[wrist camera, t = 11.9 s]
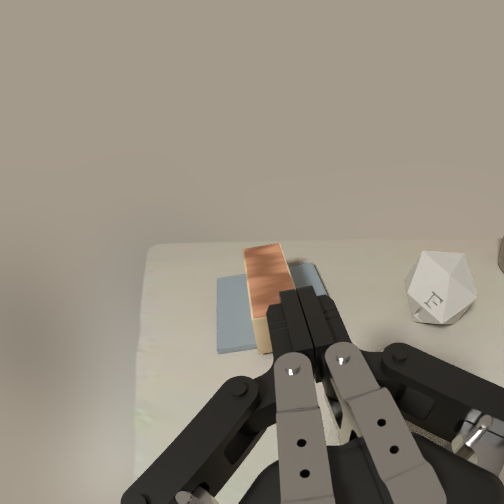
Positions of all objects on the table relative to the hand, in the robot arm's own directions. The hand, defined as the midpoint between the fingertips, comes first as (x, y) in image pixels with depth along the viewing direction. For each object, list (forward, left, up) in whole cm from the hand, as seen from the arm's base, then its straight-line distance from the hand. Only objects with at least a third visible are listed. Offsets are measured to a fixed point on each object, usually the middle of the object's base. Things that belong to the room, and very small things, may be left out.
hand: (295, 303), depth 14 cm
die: (-19, -13, -17) cm, 29 cm away
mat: (0, -21, -17) cm, 27 cm away
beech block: (0, -12, -14) cm, 18 cm away
